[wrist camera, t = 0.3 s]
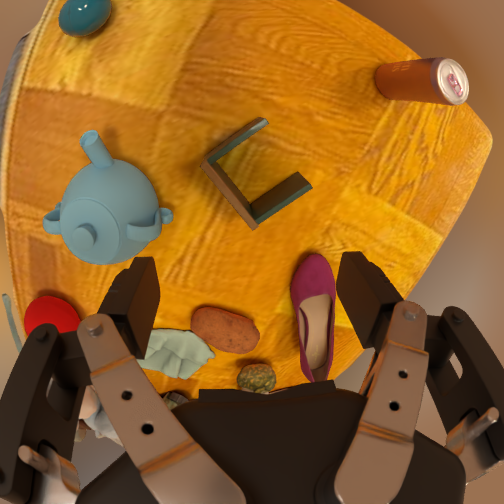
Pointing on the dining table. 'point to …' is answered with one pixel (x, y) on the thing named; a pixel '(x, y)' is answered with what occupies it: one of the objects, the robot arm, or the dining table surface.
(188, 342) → the cloth
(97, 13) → the ball
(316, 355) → the high heel
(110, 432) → the hippo plush
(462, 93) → the beverage can
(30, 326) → the tomato
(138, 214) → the teapot
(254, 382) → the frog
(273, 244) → the dining table surface
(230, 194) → the can caddy
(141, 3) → the dining table surface
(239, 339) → the potato
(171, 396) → the toy
